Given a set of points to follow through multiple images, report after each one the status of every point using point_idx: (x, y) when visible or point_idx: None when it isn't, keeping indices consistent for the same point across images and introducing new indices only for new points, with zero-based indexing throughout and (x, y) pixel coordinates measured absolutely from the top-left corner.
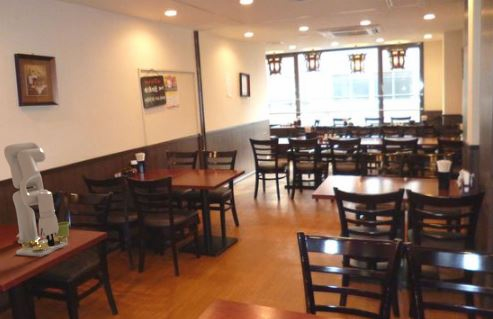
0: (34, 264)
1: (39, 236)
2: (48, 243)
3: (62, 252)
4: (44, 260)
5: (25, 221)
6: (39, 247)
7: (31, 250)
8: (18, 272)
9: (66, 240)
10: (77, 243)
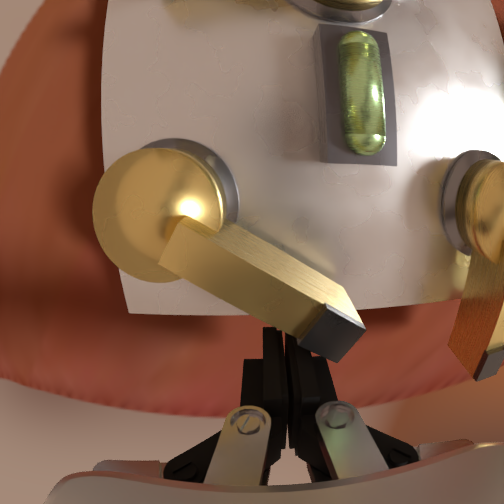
0: (49, 356)
1: None
2: (242, 378)
3: None
4: (112, 376)
5: None
6: (146, 275)
7: (153, 102)
8: None
9: (462, 354)
10: None
